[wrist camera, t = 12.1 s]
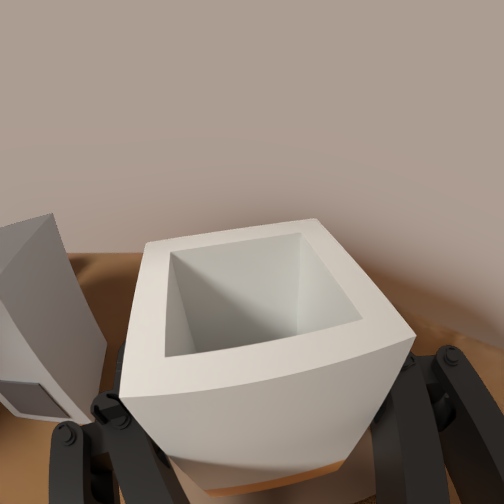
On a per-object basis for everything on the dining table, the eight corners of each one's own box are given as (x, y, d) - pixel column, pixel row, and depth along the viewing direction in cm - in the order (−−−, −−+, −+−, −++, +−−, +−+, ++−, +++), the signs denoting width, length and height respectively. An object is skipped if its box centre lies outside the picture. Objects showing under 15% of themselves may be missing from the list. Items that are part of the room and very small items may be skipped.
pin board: (171, 536, 9) (131, 528, 6) (162, 321, 24) (146, 272, 21) (387, 489, 11) (426, 462, 8) (297, 299, 26) (298, 249, 23)
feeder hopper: (15, 418, 14) (-78, 298, 8) (37, 347, 21) (-21, 234, 14) (94, 426, 15) (-9, 286, 9) (107, 343, 22) (52, 213, 16)
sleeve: (211, 497, 10) (118, 397, 4) (198, 399, 15) (146, 242, 10) (337, 470, 10) (416, 335, 5) (302, 380, 15) (315, 218, 10)
